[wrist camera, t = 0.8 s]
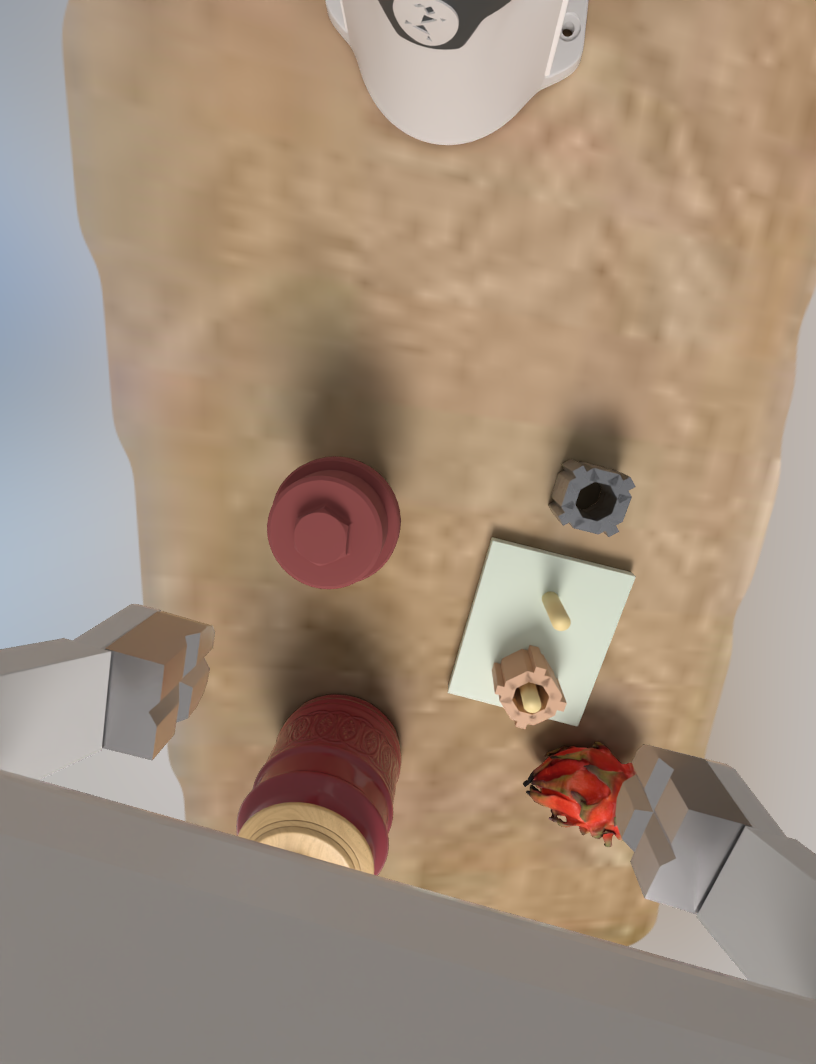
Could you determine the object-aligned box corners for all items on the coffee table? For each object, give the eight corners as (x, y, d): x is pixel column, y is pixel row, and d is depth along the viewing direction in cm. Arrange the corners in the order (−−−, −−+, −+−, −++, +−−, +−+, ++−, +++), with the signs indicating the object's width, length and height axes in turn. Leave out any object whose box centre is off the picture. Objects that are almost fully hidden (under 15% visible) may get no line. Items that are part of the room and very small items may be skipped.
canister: (374, 813, 55) (338, 997, 38) (265, 765, 55) (181, 930, 38) (422, 722, 52) (407, 880, 35) (307, 670, 51) (234, 805, 34)
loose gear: (563, 456, 44) (575, 463, 39) (620, 470, 44) (638, 478, 39) (545, 511, 45) (555, 523, 41) (600, 525, 45) (616, 538, 41)
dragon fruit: (640, 767, 53) (524, 742, 55) (666, 742, 46) (532, 715, 49) (644, 862, 47) (515, 829, 50) (674, 848, 41) (524, 811, 43)
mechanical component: (305, 441, 45) (414, 455, 45) (298, 546, 48) (401, 561, 47) (251, 456, 33) (400, 476, 33) (247, 595, 36) (384, 615, 36)
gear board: (491, 537, 46) (497, 557, 40) (631, 572, 46) (657, 598, 40) (448, 686, 50) (447, 724, 44) (575, 719, 50) (591, 762, 44)
